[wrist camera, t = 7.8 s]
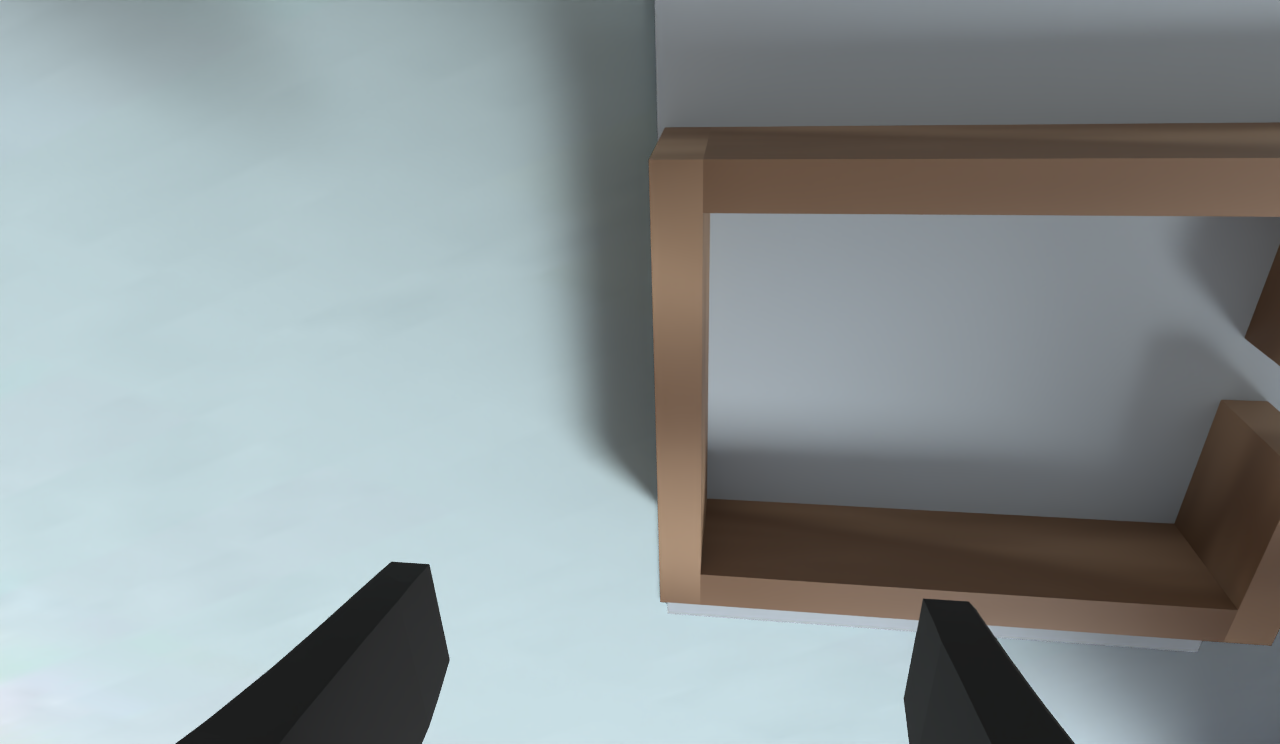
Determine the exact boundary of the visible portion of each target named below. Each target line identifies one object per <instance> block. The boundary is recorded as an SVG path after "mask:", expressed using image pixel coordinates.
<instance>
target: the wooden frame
mask: <svg viewBox="0 0 1280 744" xmlns="http://www.w3.org/2000/svg"><path fill="white" fill-rule="evenodd" d="M649 193H650V230H651V268H652V305H653V343H654V380H655V417H656V455H657V492H658V530H659V567H660V602H668V603H682V604H696V605H710V606H724V607H738V608H752V609H766V610H780V611H794V612H808V613H822V614H836V615H850V616H864V617H878V618H892V619H906V620H919V617H920V611H921V606H922V601H923V598H925V599H939V600H954V601H968V602H970V603H971V604H972V605H973V606H974V607H975V609H976V610H977V611H978V613H979V614H980V616H981V617H982V619H983V620H984V622H985V623H986V625H989V626H1003V627H1017V628H1031V629H1045V630H1059V631H1073V632H1087V633H1101V634H1115V635H1129V636H1143V637H1157V638H1171V639H1185V640H1199V641H1212V642H1226V643H1240V644H1254V645H1268V646H1271V645H1272V643H1273V641H1274V639H1275V637H1276V635H1277V633H1278V631H1279V629H1280V411H1278V410H1277V409H1276V408H1275V407H1274V406H1273V405H1271V404H1270V403H1269V402H1268V401H1245V400H1221V401H1220V404H1219V406H1218V409H1217V412H1216V414H1215V417H1214V420H1213V422H1212V425H1211V428H1210V430H1209V433H1208V436H1207V438H1206V441H1205V444H1204V446H1203V449H1202V451H1201V454H1200V457H1199V459H1198V462H1197V465H1196V467H1195V470H1194V473H1193V475H1192V478H1191V481H1190V483H1189V486H1188V489H1187V491H1186V494H1185V496H1184V499H1183V502H1182V504H1181V507H1180V510H1179V512H1178V515H1177V518H1176V520H1175V523H1174V524H1171V523H1153V522H1134V521H1115V520H1097V519H1078V518H1060V517H1041V516H1023V515H1004V514H986V513H967V512H948V511H930V510H911V509H893V508H874V507H856V506H837V505H818V504H800V503H781V502H763V501H744V500H726V499H707V452H708V362H709V273H710V213H748V214H905V215H1063V216H1220V217H1280V122H1270V123H1146V124H1021V125H896V126H772V127H665V128H664V130H663V132H662V134H661V136H660V138H659V140H658V142H657V144H656V146H655V148H654V150H653V152H652V154H651V156H650V158H649ZM1245 339H1246V340H1247V341H1248V342H1250V343H1251V344H1252V345H1253V346H1255V347H1256V348H1257V349H1259V350H1260V351H1261V352H1262V353H1264V354H1265V355H1266V356H1267V357H1269V358H1270V359H1271V360H1273V361H1274V362H1275V363H1276V364H1278V365H1279V366H1280V245H1279V248H1278V250H1277V253H1276V255H1275V258H1274V261H1273V263H1272V266H1271V269H1270V271H1269V274H1268V277H1267V279H1266V282H1265V285H1264V287H1263V290H1262V293H1261V295H1260V298H1259V301H1258V303H1257V306H1256V308H1255V311H1254V314H1253V316H1252V319H1251V322H1250V324H1249V327H1248V330H1247V332H1246V335H1245Z"/></svg>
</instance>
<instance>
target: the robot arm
mask: <svg viewBox="0 0 1280 744" xmlns="http://www.w3.org/2000/svg"><path fill="white" fill-rule="evenodd" d="M449 660H450V659H449V654H448V650H447V645H446V640H445V636H444V631H443V626H442V622H441V617H440V612H439V607H438V603H437V598H436V593H435V589H434V584H433V579H432V574H431V570H430V565H429V564H417V563H402V562H391V563H389V564H388V565H387V566H386V567H385V568H384V569H383V570H381V571H380V572H379V573H378V574H377V575H376V576H375V577H374V578H372V579H371V580H370V581H369V582H368V583H367V584H366V585H365V586H363V587H362V588H361V589H360V590H359V591H358V592H357V593H356V594H354V595H353V596H352V597H351V598H350V599H349V600H348V601H347V602H346V603H345V604H343V605H342V606H341V607H340V608H339V609H338V610H337V611H336V612H335V613H333V614H332V615H331V616H330V617H329V618H328V619H327V620H326V621H325V622H323V623H322V624H321V625H320V626H319V627H318V628H317V629H316V630H314V631H313V632H312V633H311V634H310V635H309V636H308V637H306V638H305V639H304V640H303V641H302V642H301V643H300V644H298V645H297V646H296V647H295V648H294V649H293V650H292V651H290V652H289V653H288V654H287V655H286V656H285V657H284V658H282V659H281V660H280V661H279V662H278V663H277V664H275V665H274V666H273V667H272V668H271V669H270V670H268V671H267V672H266V673H265V674H264V675H262V676H261V677H260V678H259V679H257V680H256V681H255V682H254V683H252V684H251V685H250V686H249V687H247V688H246V689H245V690H244V691H243V692H241V693H240V694H239V695H238V696H236V697H235V698H234V699H233V700H231V701H230V702H229V703H228V704H226V705H225V706H224V707H223V708H222V709H220V710H219V711H218V712H217V713H215V714H214V715H213V716H212V717H210V718H209V719H208V720H206V721H205V722H204V723H203V724H201V725H200V726H199V727H197V728H196V729H195V730H193V731H192V732H191V733H189V734H188V735H187V736H185V737H184V738H182V739H181V740H180V741H178V742H177V743H176V744H422V742H423V739H424V737H425V735H426V732H427V730H428V728H429V725H430V722H431V719H432V716H433V713H434V710H435V707H436V704H437V701H438V697H439V694H440V691H441V687H442V684H443V681H444V677H445V674H446V670H447V667H448V664H449ZM904 704H905V712H906V721H907V729H908V737H909V744H1075V743H1074V742H1073V741H1072V739H1071V738H1070V737H1069V736H1068V734H1067V733H1066V732H1065V731H1064V729H1063V728H1062V727H1061V725H1060V724H1059V723H1058V722H1057V720H1056V719H1055V718H1054V717H1053V715H1052V714H1051V713H1050V711H1049V710H1048V709H1047V708H1046V706H1045V705H1044V704H1043V702H1042V701H1041V700H1040V698H1039V697H1038V696H1037V694H1036V693H1035V692H1034V690H1033V689H1032V688H1031V686H1030V685H1029V684H1028V682H1027V681H1026V679H1025V678H1024V677H1023V675H1022V674H1021V673H1020V671H1019V670H1018V668H1017V667H1016V666H1015V664H1014V663H1013V662H1012V660H1011V659H1010V657H1009V656H1008V655H1007V653H1006V652H1005V650H1004V649H1003V648H1002V646H1001V645H1000V643H999V642H998V640H997V639H996V638H995V636H994V635H993V633H992V632H991V630H990V629H989V627H988V626H987V625H986V623H985V622H984V620H983V619H982V617H981V616H980V614H979V613H978V611H977V610H976V609H975V607H974V606H973V605H972V604H971V603H970V602H968V601H954V600H939V599H925V598H923V601H922V606H921V611H920V617H919V622H918V627H917V632H916V638H915V643H914V648H913V653H912V658H911V664H910V669H909V674H908V679H907V685H906V690H905V695H904Z"/></svg>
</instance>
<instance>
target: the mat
mask: <svg viewBox="0 0 1280 744" xmlns="http://www.w3.org/2000/svg"><path fill="white" fill-rule="evenodd" d="M655 43H656V90H657V138H658V140H659V138H660V136H661V134H662V132H663V130H664V128H665V127H772V126H896V125H1021V124H1146V123H1270V122H1280V0H655ZM1279 245H1280V217H1220V216H1063V215H905V214H748V213H710V273H709V362H708V452H707V499H726V500H744V501H763V502H781V503H800V504H818V505H837V506H856V507H874V508H893V509H911V510H930V511H948V512H967V513H986V514H1004V515H1023V516H1041V517H1060V518H1078V519H1097V520H1115V521H1134V522H1153V523H1171V524H1174V523H1175V520H1176V518H1177V515H1178V512H1179V510H1180V507H1181V504H1182V502H1183V499H1184V496H1185V494H1186V491H1187V489H1188V486H1189V483H1190V481H1191V478H1192V475H1193V473H1194V470H1195V467H1196V465H1197V462H1198V459H1199V457H1200V454H1201V451H1202V449H1203V446H1204V444H1205V441H1206V438H1207V436H1208V433H1209V430H1210V428H1211V425H1212V422H1213V420H1214V417H1215V414H1216V412H1217V409H1218V406H1219V404H1220V401H1221V400H1245V401H1268V402H1269V403H1270V404H1271V405H1273V406H1274V407H1275V408H1276V409H1277V410H1278V411H1280V366H1279V365H1278V364H1276V363H1275V362H1274V361H1273V360H1271V359H1270V358H1269V357H1267V356H1266V355H1265V354H1264V353H1262V352H1261V351H1260V350H1259V349H1257V348H1256V347H1255V346H1253V345H1252V344H1251V343H1250V342H1248V341H1247V340H1246V339H1245V335H1246V332H1247V330H1248V327H1249V324H1250V322H1251V319H1252V316H1253V314H1254V311H1255V308H1256V306H1257V303H1258V301H1259V298H1260V295H1261V293H1262V290H1263V287H1264V285H1265V282H1266V279H1267V277H1268V274H1269V271H1270V269H1271V266H1272V263H1273V261H1274V258H1275V255H1276V253H1277V250H1278V248H1279ZM667 612H668V614H681V615H695V616H708V617H722V618H736V619H749V620H763V621H776V622H790V623H804V624H817V625H831V626H845V627H858V628H872V629H885V630H899V631H913V632H917V627H918V622H919V620H906V619H892V618H878V617H864V616H850V615H836V614H822V613H808V612H794V611H780V610H766V609H752V608H738V607H724V606H710V605H696V604H682V603H668V602H667ZM987 626H988V627H989V629H990V630H991V632H992V633H993V635H994V636H995V638H1008V639H1022V640H1035V641H1049V642H1062V643H1076V644H1090V645H1103V646H1117V647H1130V648H1144V649H1158V650H1171V651H1185V652H1198V650H1199V647H1200V645H1201V643H1202V641H1199V640H1185V639H1171V638H1157V637H1143V636H1129V635H1115V634H1101V633H1087V632H1073V631H1059V630H1045V629H1031V628H1017V627H1003V626H989V625H987Z"/></svg>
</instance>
